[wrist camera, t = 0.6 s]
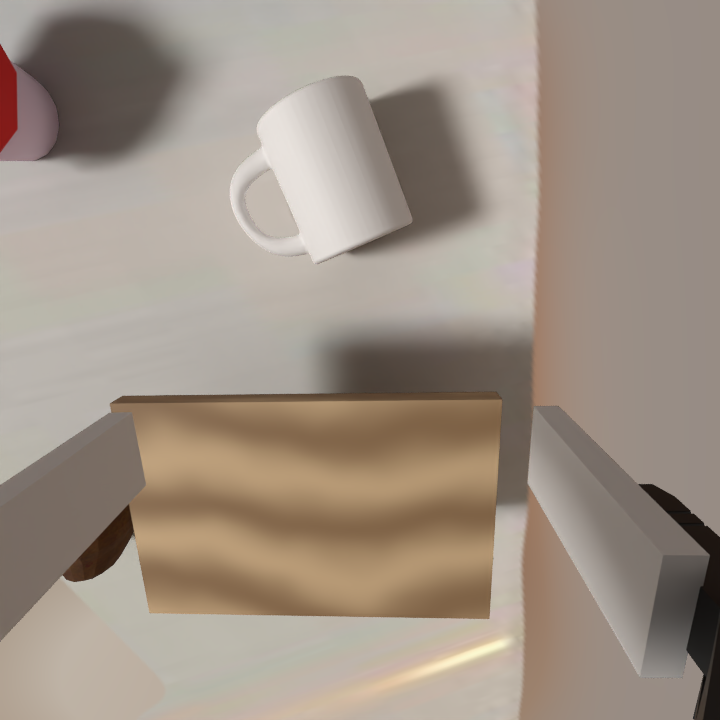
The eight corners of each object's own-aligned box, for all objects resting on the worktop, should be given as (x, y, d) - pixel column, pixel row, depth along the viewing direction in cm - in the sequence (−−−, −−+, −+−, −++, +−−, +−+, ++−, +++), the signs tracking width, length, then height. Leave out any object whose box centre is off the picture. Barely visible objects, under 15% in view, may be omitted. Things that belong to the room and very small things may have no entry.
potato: (96, 542, 46) (39, 602, 38) (69, 457, 43) (2, 503, 35) (163, 537, 45) (119, 597, 37) (140, 450, 43) (87, 496, 35)
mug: (363, 99, 34) (358, 57, 26) (410, 224, 36) (418, 219, 28) (227, 165, 35) (184, 145, 28) (279, 280, 38) (253, 291, 30)
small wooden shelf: (195, 352, 40) (109, 403, 27) (463, 348, 38) (502, 399, 26) (215, 507, 44) (149, 613, 31) (457, 508, 42) (489, 618, 30)
